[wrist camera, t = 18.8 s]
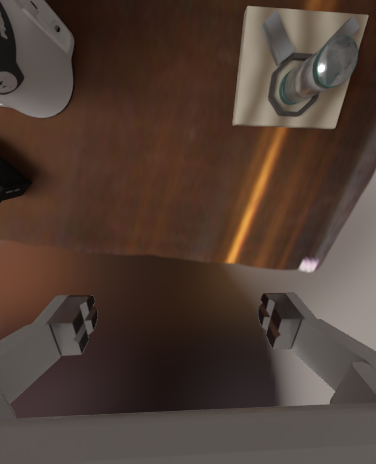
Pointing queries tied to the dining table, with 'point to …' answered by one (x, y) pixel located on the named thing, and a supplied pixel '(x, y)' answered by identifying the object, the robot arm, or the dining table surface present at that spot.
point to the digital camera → (11, 181)
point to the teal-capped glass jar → (320, 71)
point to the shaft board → (288, 65)
